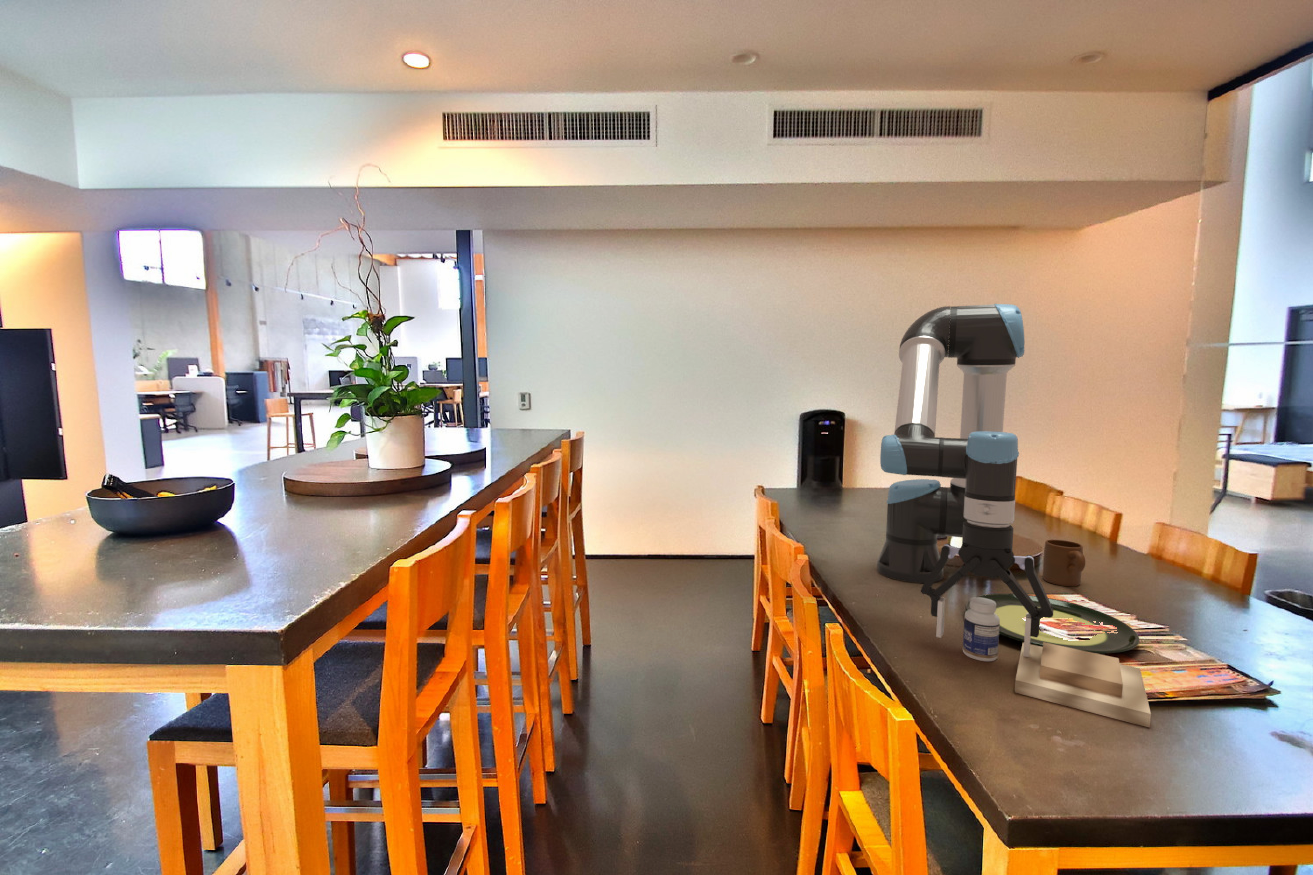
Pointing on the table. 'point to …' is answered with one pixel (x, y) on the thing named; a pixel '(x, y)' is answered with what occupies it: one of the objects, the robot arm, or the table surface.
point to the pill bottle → (981, 630)
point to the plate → (1014, 611)
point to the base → (1083, 696)
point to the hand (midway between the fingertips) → (981, 644)
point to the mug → (1063, 562)
